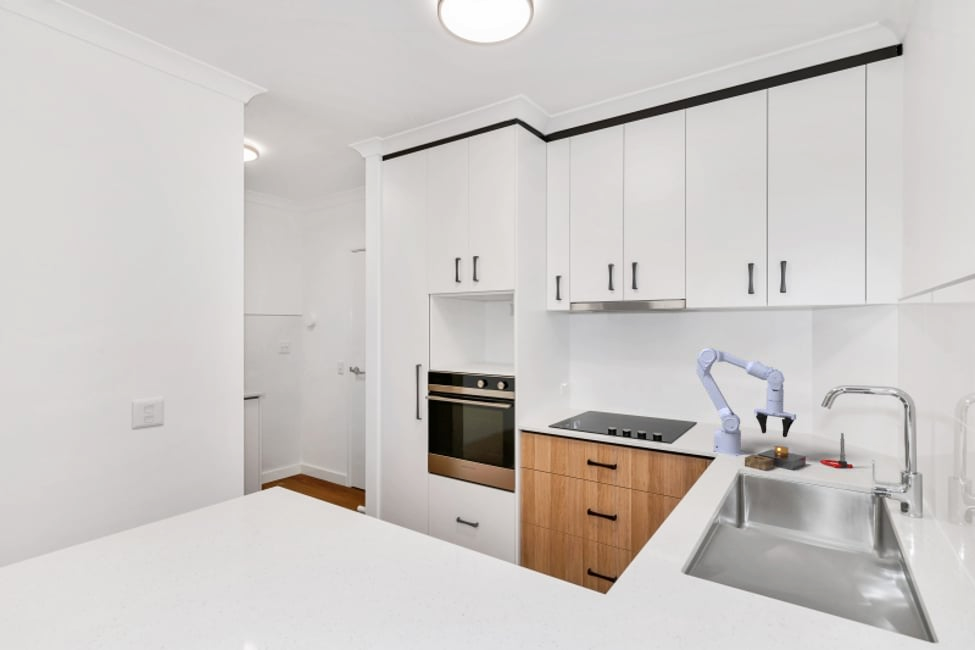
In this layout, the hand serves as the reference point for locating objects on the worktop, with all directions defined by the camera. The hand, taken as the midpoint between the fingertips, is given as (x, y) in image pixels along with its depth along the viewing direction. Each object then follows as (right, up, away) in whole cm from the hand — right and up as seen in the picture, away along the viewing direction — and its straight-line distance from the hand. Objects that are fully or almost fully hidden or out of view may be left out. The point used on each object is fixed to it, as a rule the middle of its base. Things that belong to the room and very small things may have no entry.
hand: (774, 434), depth 188 cm
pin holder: (-13, -9, -12) cm, 20 cm away
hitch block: (-2, -9, -8) cm, 12 cm away
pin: (-2, -9, -8) cm, 12 cm away
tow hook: (+19, -10, -7) cm, 22 cm away
